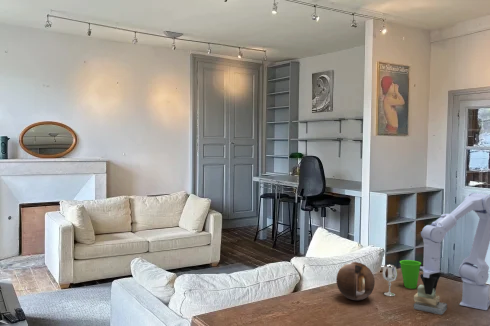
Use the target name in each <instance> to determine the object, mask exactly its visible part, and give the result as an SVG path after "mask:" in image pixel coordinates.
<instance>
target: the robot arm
mask: <svg viewBox="0 0 490 326" xmlns="http://www.w3.org/2000/svg"><path fill="white" fill-rule="evenodd" d="M472 211H473V212H474V213H475V214H476V215H477V216H478V218H479V219H478V223H477V227H476V231H475V235H474V238H473V241H472V245H471V249H470V251H469V252H470V253H469V255H468V256H466V257H465V258H463V259H462V262H461V264H460V265H459V267H458V270H457V271H458V272H457V273H458V275H459V277H460V278H461V281H462V292H461V293H462V295H461V296H462V297H461V299H462V300H461V301H460V303H459V306H462V307H467V308H472V309H477V310H481V311H482V310H483V311H488V309H489V307H490V285H489V284H486V283H487V282H488V280H489V269H490V267H489V265H488V264H487V262H486V261H485V260H486V257H487V253H488V249H489V247H490V194H486V193H477V192H470V193H469V194H468V195H466V196H465V197H464V199H463V201H462V202H461V203H460V204H459V205H458V206H457V207H456V208H454V209H453V210H452V211H451V212H450V213H442V214H441V215H440V217H438V218H437V219H436V220H435V221H432V222H431V224H427V225H425V226H424V227H423V228H422V229H421V230H422V231H420V236H421V238H422V242H423V260H422V261H423V262H422V263H423V264H422V265H423V266H421V265H420V270H422V271H423V272H422V273H421V274H419V275H420V277H419V278H420V279H421V281H422V283H423V284H422V285H424V289H425V294H429V295H432V292H433V288H434V292H435V290H437V285H438V282H439V279H440V278H441V275H442V272H441V270H440V265H441V263H440V261H441V258H440V257H441V242H442V241H443V240H444V238H445V236H446V234H447V233H448V232H449V231H451V230H452V229H453V228H454V227H456V226H457V221H459V220H460V219H461V218H463V217H464V216H466V215H467V214H468V213H470V212H472Z"/></svg>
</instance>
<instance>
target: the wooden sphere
mask: <svg viewBox="0 0 490 326" xmlns="http://www.w3.org/2000/svg"><path fill="white" fill-rule="evenodd" d="M335 280H336V281H335V282H336V286H337V288H338V290H339V292H340V293H341V294H342V295H343V296H344V297H345V298H346V299H348V300H351V301H362V300H365V299H366V298H368V297H370V295H371V294H372V293H373V291H374V289H375V277H374V273H373V272H372V270H371V269H370V268H369V267H368V266H367V265H365V264H364V263H361V262H357V261H352V262H351V261H350V262H348V263H346V264H343V265H342V266H341V267H340V268H339V270H338V271H337V274H336V279H335Z"/></svg>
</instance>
